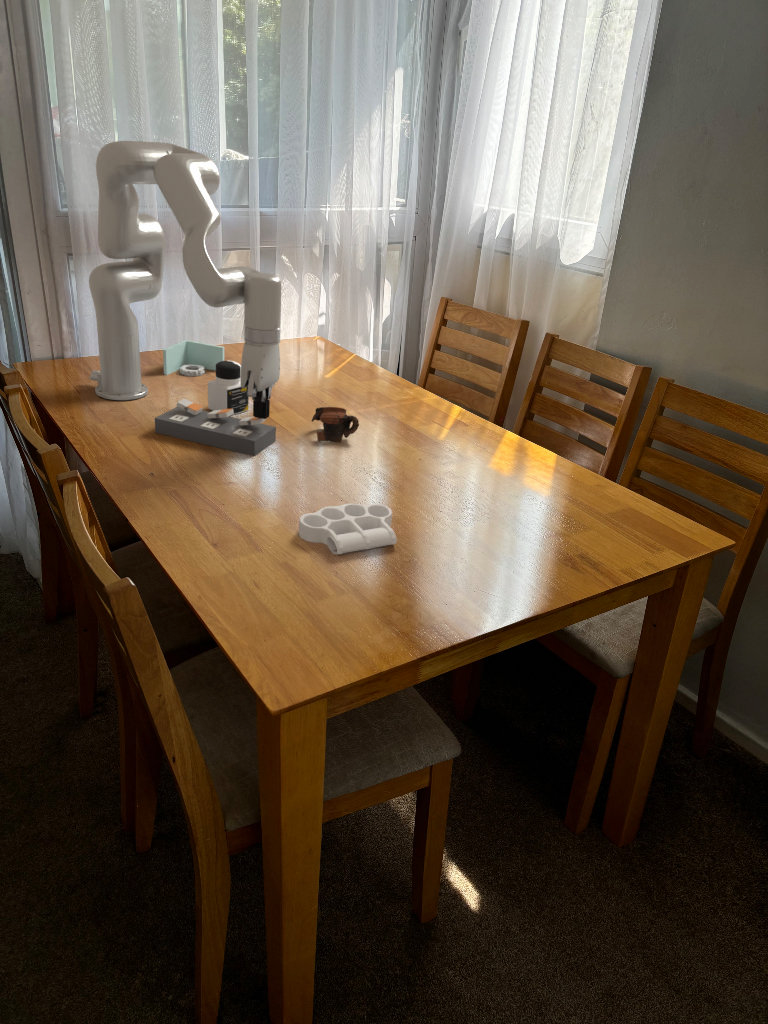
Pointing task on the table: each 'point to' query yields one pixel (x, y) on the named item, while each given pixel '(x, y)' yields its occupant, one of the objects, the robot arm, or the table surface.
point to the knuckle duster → (349, 527)
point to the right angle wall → (191, 358)
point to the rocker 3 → (251, 421)
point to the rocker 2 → (220, 413)
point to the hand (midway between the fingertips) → (261, 416)
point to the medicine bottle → (227, 389)
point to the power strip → (216, 431)
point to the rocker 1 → (189, 406)
